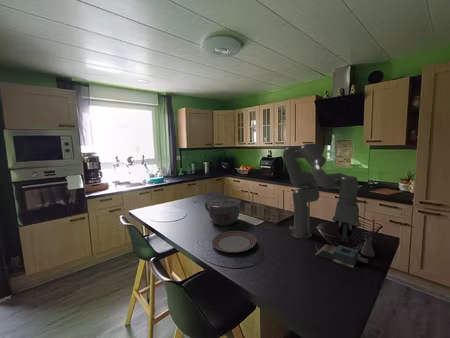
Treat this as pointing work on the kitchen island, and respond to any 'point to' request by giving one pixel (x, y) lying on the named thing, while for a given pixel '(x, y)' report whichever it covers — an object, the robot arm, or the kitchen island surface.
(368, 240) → the flask
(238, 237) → the dinner plate
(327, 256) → the rubber pad
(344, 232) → the key peg
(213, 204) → the chamber pot
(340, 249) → the block
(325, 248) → the bench board
